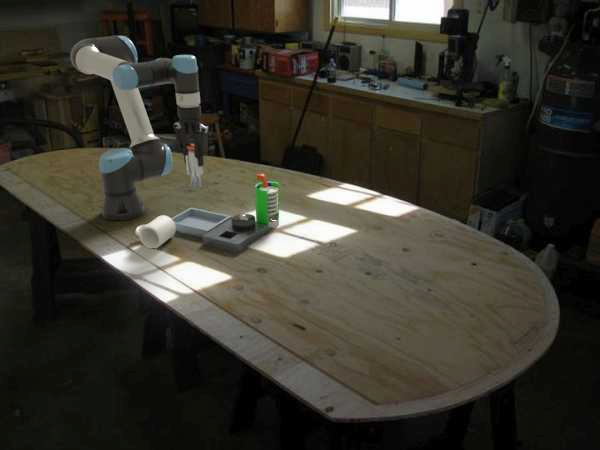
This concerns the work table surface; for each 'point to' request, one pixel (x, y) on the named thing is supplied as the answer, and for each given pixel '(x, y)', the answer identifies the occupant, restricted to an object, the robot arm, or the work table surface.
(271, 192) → the green-shelled ribbed roller
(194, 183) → the pin
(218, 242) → the grey block with dome
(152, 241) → the mug
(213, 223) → the tray
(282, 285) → the work table surface
